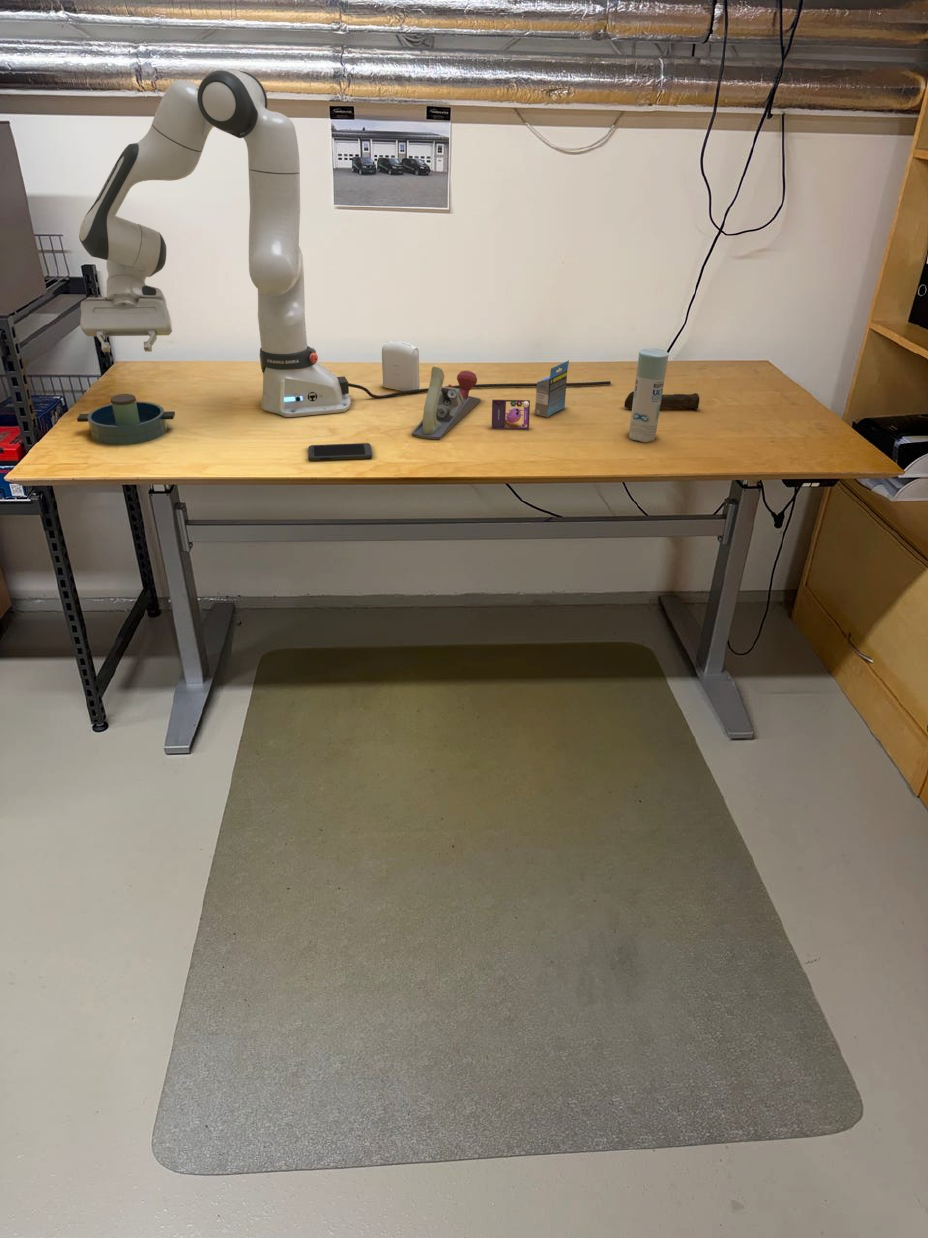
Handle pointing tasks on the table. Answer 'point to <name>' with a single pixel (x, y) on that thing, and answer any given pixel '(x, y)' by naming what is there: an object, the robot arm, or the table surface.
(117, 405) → the canister
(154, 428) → the pot
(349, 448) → the cell phone
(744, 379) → the table surface
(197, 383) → the table surface
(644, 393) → the spray paint can
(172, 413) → the pot ear handles
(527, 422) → the purple cartoon box
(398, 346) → the photo printer
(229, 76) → the robot arm
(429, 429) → the hand plane
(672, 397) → the hand tool
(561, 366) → the tape cartridge
